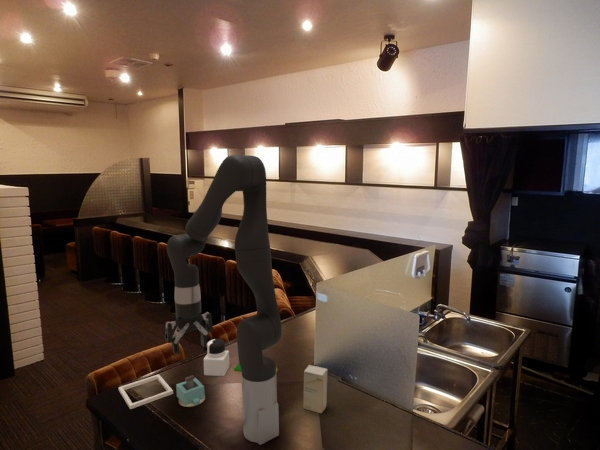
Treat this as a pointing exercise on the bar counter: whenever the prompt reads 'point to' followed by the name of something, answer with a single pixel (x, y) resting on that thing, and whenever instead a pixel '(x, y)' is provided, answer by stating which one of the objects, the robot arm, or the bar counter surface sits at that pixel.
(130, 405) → the tray
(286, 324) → the bar counter surface
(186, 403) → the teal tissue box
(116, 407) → the bar counter surface
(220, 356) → the medicine bottle
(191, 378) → the peg stand
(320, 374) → the skincare box
